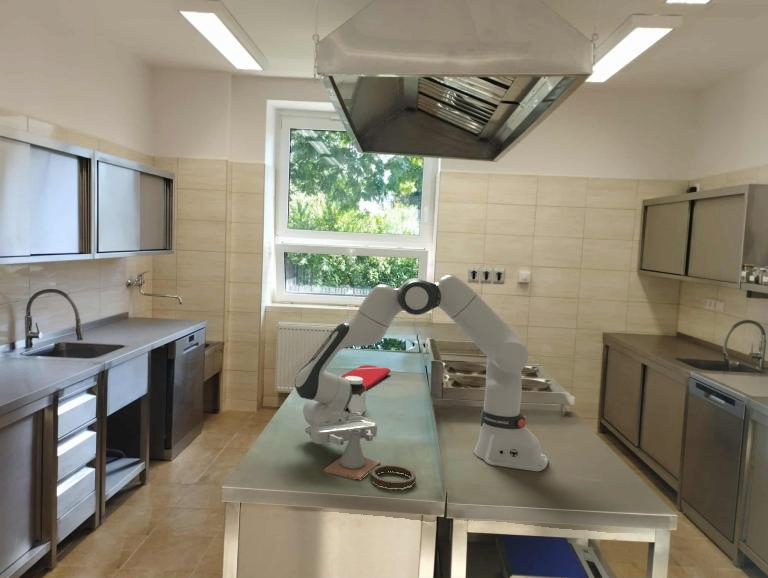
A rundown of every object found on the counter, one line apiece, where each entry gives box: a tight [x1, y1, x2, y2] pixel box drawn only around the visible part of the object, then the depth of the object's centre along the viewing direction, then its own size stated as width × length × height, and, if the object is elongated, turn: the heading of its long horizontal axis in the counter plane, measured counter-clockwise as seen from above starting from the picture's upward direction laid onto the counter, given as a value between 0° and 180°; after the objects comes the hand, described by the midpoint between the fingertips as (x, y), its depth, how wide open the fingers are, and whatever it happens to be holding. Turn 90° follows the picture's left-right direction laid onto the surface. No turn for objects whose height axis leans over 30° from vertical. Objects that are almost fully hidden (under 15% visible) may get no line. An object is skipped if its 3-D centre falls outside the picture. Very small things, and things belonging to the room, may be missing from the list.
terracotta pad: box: [323, 456, 381, 481], centre depth 175 cm, size 11×14×1 cm
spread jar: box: [345, 376, 367, 414], centre depth 228 cm, size 12×11×12 cm
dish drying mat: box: [341, 364, 391, 390], centre depth 271 cm, size 16×41×4 cm, turn 161°
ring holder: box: [370, 464, 417, 488], centre depth 168 cm, size 12×12×2 cm
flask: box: [339, 429, 366, 469], centre depth 175 cm, size 7×7×10 cm
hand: (356, 440), depth 173 cm, fingers open, 8 cm apart
